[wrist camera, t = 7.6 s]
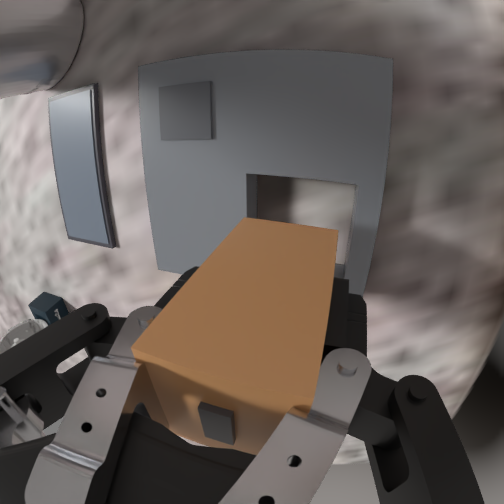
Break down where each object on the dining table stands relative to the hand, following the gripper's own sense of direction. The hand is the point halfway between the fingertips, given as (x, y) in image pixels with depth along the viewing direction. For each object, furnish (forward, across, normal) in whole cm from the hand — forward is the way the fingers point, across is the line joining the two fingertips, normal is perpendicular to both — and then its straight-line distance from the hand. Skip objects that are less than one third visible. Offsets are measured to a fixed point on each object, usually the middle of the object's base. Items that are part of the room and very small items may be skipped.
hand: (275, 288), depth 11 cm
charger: (+2, 0, 0) cm, 2 cm away
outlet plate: (+7, +2, -3) cm, 8 cm away
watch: (+7, +28, +15) cm, 33 cm away
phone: (+7, +18, -3) cm, 19 cm away
